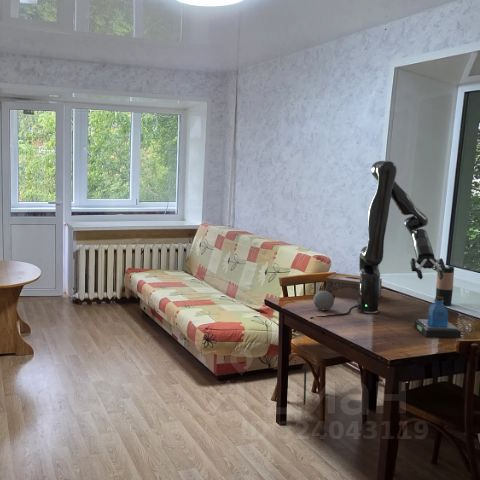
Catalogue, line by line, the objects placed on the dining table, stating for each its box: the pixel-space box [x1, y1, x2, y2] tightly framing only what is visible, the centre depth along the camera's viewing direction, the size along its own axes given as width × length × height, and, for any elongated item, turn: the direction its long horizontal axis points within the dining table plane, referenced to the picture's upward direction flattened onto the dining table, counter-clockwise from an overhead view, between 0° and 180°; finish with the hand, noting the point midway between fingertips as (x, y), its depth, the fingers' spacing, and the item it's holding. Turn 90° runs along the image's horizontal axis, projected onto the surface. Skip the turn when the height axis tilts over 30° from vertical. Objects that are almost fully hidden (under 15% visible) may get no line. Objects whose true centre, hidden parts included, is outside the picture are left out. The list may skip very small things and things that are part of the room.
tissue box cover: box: [325, 272, 383, 301], centre depth 292 cm, size 26×14×10 cm, turn 52°
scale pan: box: [417, 318, 459, 330], centre depth 231 cm, size 12×12×1 cm
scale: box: [414, 319, 462, 339], centre depth 232 cm, size 14×14×3 cm
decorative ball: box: [312, 290, 335, 311], centre depth 266 cm, size 10×10×10 cm
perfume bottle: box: [427, 295, 449, 326], centre depth 231 cm, size 6×6×12 cm
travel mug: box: [435, 265, 455, 307], centre depth 272 cm, size 8×8×20 cm
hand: (431, 278), depth 239 cm, fingers open, 8 cm apart
